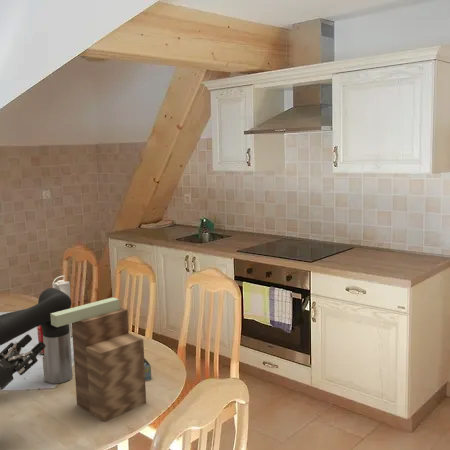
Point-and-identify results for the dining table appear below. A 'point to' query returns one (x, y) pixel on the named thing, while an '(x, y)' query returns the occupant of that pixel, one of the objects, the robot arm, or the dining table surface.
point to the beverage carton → (147, 370)
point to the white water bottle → (64, 288)
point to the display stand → (108, 365)
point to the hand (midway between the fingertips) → (36, 339)
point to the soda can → (40, 336)
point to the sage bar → (84, 312)
